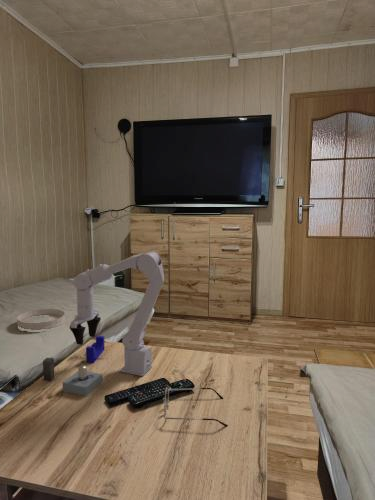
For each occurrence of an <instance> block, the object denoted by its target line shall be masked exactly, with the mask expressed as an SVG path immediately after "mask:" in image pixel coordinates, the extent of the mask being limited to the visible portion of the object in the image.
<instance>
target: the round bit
mask: <svg viewBox="0 0 375 500" xmlns="http://www.w3.org/2000/svg"><path fill="white" fill-rule="evenodd" d="M77 371H78V380H79V381H86V380H87V371H88V370H87V365H86V364H80V365H78V367H77Z"/></svg>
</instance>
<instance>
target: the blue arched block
mask: <svg viewBox="0 0 375 500" xmlns="http://www.w3.org/2000/svg"><path fill="white" fill-rule="evenodd" d="M104 351H105V336H104V335H97V336H95V342H92V344H91V346H89V345H88V346H86V348H85V353H86V354H85V360H86V361H85V362H86V363H89V364H94V363H95V362H96V361H97V360H98V359H99V357H100V356H101V355H102V353H103V352H104Z"/></svg>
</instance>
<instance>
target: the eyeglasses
mask: <svg viewBox="0 0 375 500" xmlns="http://www.w3.org/2000/svg"><path fill="white" fill-rule="evenodd" d="M188 390H195V388H194V387H193V388H192V387H191V388H190V387H189V388H168V387H165V391H164V397H163V398H162V400H163V412H164V421H167V420H191V421H192V420H194V421H195V420H199V421H215V422H218V423H219V424H221V425H222V426H224V427H228V426H229V425H228V424H227V423H224V422H223V421H221V420H218V419H216V418H191V417H189V418H188V417H171V416H169V417H167V410H169V406H170V405H169V404H170V400H169V399H170V396H169V395H170V393H169V392H170V391H188ZM196 390H211V391H214V393H215V394H216V395H217V396H218V397H219V398H220V399H222V400H223V399H224V397H223V396H222V395H221V394H220V393H219V392H218V391H216V390H215V389H214V388H213V387H199V388H196Z"/></svg>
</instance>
